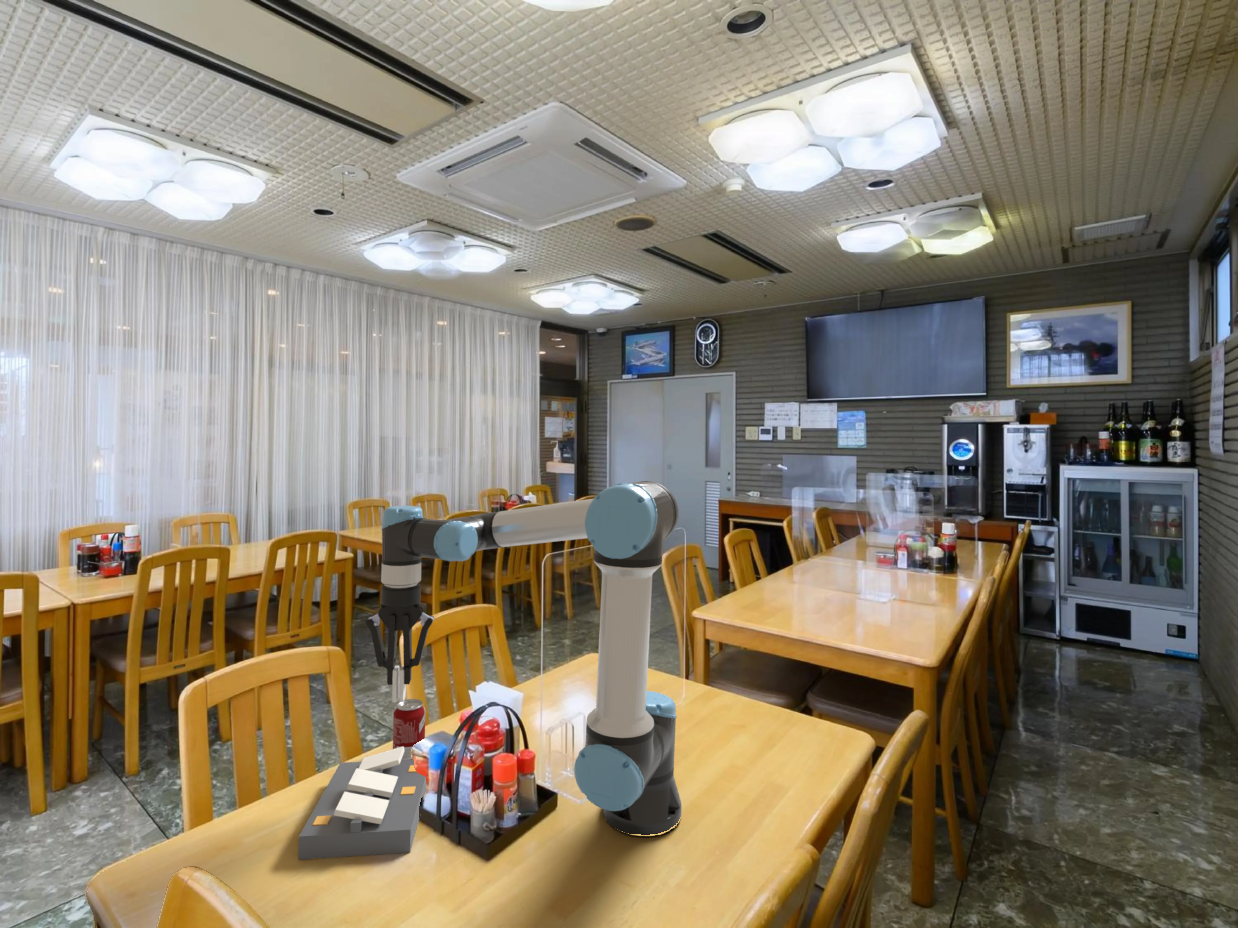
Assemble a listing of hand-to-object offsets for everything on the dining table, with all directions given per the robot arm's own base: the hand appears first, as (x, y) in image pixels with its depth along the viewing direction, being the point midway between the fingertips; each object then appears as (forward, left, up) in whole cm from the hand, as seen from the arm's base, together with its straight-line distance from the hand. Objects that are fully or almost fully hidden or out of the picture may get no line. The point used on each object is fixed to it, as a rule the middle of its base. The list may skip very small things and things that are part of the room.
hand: (398, 699), depth 125 cm
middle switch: (+3, +8, -13) cm, 15 cm away
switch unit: (+3, +8, -18) cm, 20 cm away
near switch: (+3, +16, -13) cm, 21 cm away
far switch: (+3, 0, -13) cm, 13 cm away
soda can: (0, -13, -19) cm, 23 cm away
